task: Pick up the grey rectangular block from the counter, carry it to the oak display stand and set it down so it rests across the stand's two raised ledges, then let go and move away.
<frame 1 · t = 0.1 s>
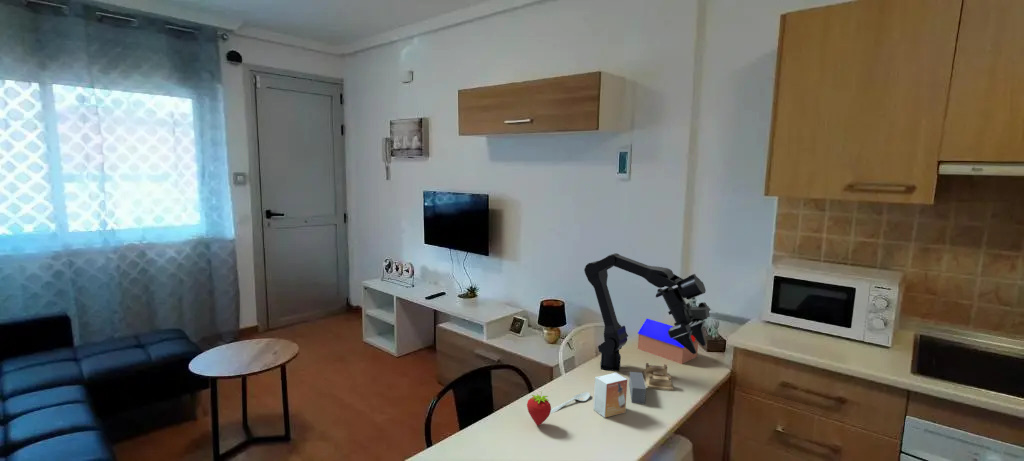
hand: (699, 349, 155), 15 cm above the worktop, tool tilted 30°, fingers open, 9 cm apart
display stand: (657, 380, 166), on the worktop
strawberry: (538, 425, 136), on the worktop
house: (666, 353, 191), on the worktop
small box: (609, 411, 144), on the worktop
spoon: (565, 407, 147), on the worktop
grey rectangular block: (636, 394, 155), on the worktop
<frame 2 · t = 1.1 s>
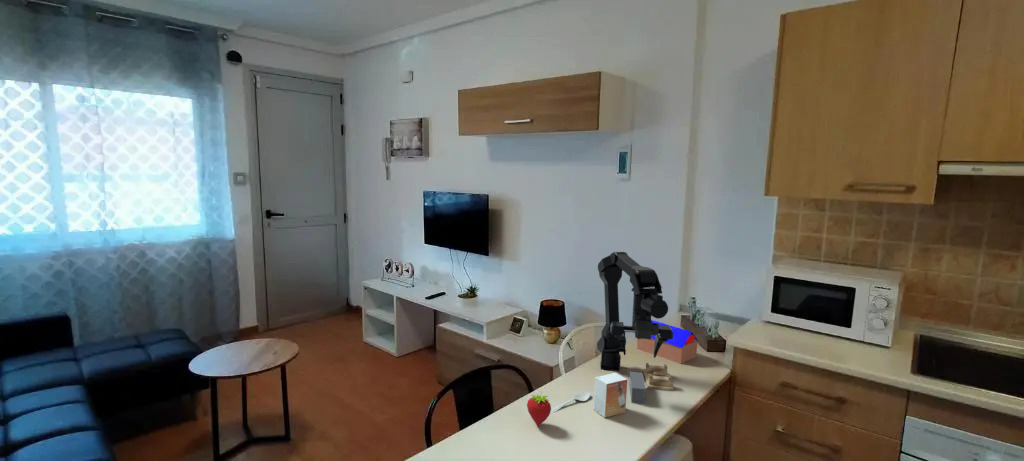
hand: (639, 356, 154), 13 cm above the worktop, tool pointing down, fingers open, 9 cm apart
nothing on the worktop moved.
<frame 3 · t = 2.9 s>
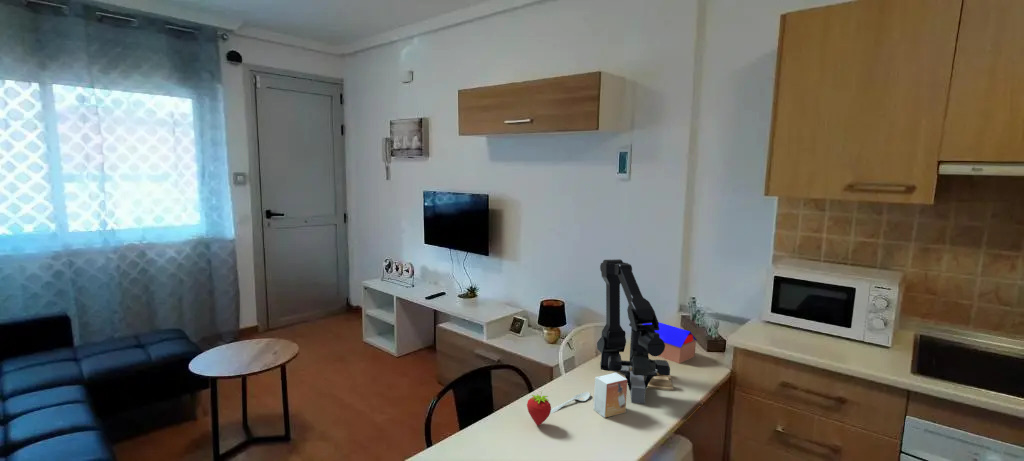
hand: (636, 390, 155), 1 cm above the worktop, tool pointing down, fingers closed on grey rectangular block, 4 cm apart
grey rectangular block: (636, 394, 155), on the worktop, touching gripper
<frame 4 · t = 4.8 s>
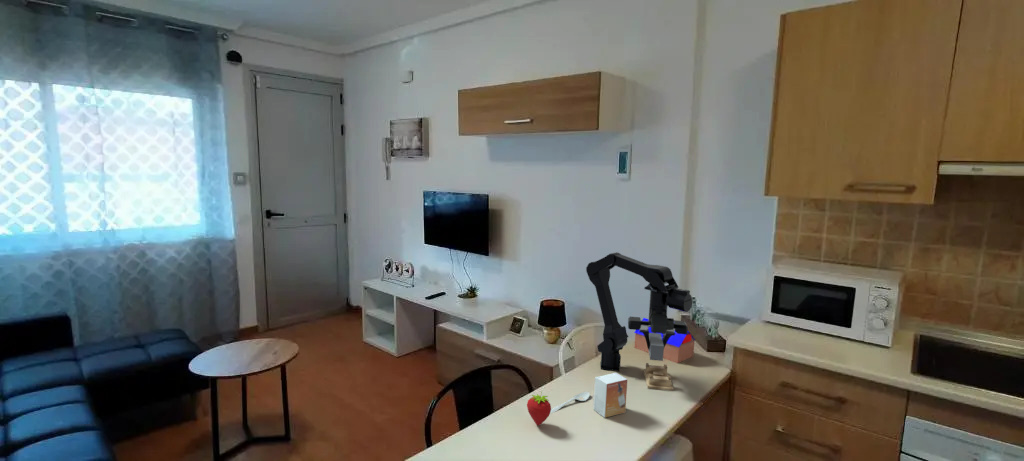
hand: (655, 349, 162), 12 cm above the worktop, tool pointing down, fingers closed on grey rectangular block, 4 cm apart
grey rectangular block: (655, 353, 162), point 11 cm above the worktop, touching gripper
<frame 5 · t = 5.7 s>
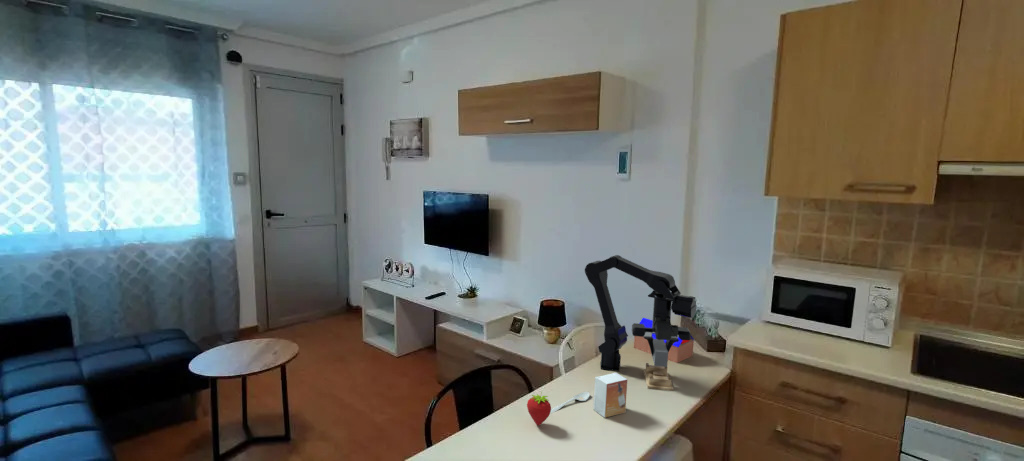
hand: (658, 355, 165), 9 cm above the worktop, tool pointing down, fingers closed on grey rectangular block, 4 cm apart
grey rectangular block: (658, 359, 165), point 8 cm above the worktop, touching gripper
when the fingers open (5 cm above the worktop, at t = 6.6 s): grey rectangular block stays where it is, resting on display stand.
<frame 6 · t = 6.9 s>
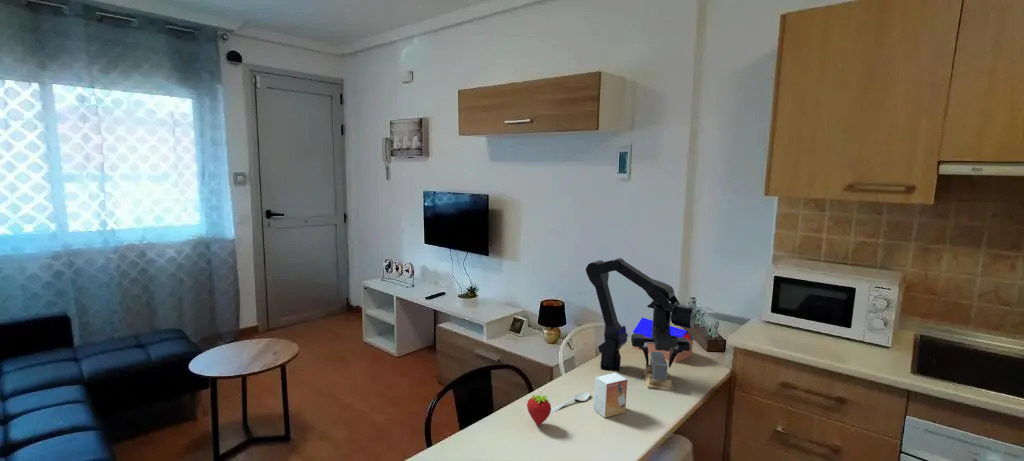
hand: (658, 366, 165), 5 cm above the worktop, tool pointing down, fingers open, 7 cm apart
grey rectangular block: (658, 372, 165), point 3 cm above the worktop, touching display stand
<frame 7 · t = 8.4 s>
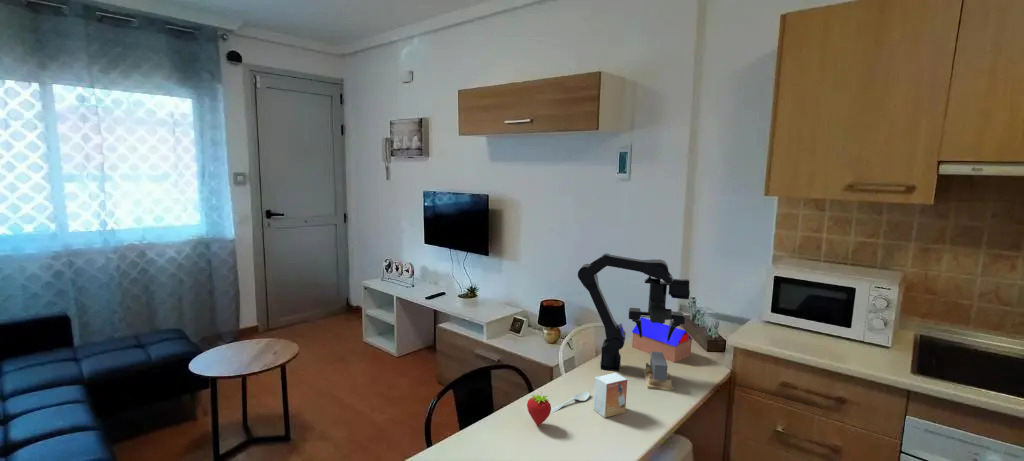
hand: (654, 339, 170), 12 cm above the worktop, tool pointing down, fingers open, 9 cm apart
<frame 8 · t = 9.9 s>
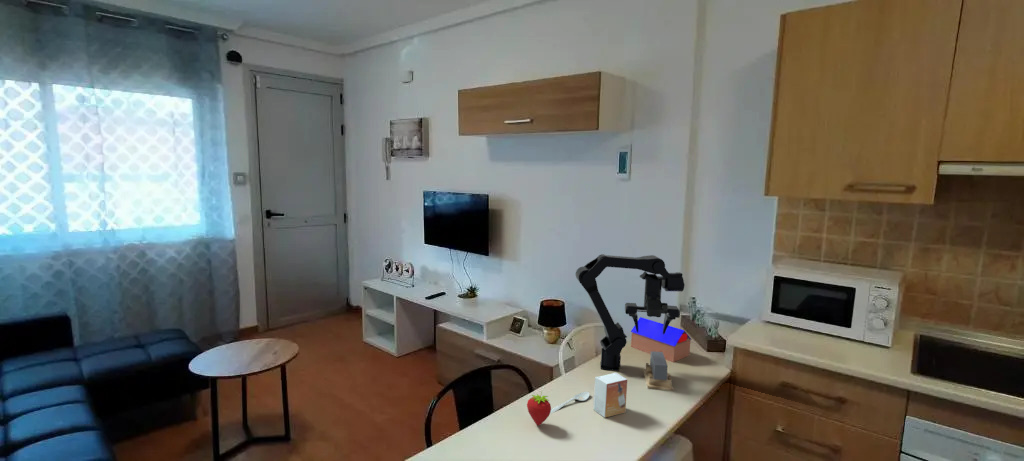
hand: (650, 332, 175), 13 cm above the worktop, tool pointing down, fingers open, 9 cm apart
at the end: grey rectangular block 0.0 cm off-centre on the display stand, point 3.0 cm above the display stand's base; grey rectangular block tilted 0°; the gripper is holding nothing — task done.
